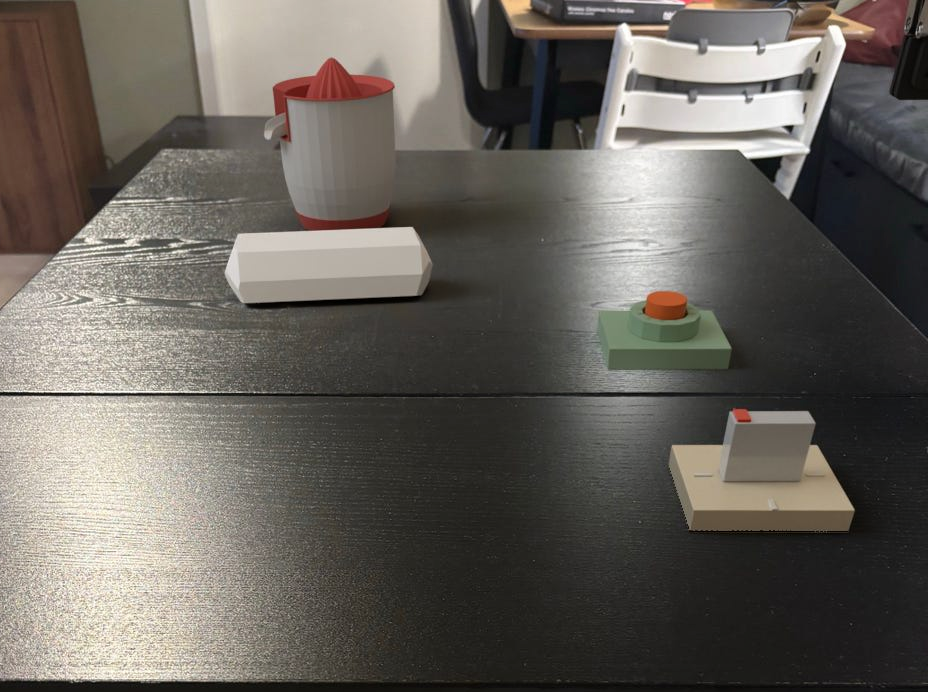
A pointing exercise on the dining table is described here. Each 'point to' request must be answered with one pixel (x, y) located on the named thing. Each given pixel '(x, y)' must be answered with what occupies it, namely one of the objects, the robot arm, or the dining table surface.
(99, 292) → the dining table surface
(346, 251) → the crystal
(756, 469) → the tap handle
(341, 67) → the citrus juicer
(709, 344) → the button block
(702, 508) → the plate
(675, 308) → the button
